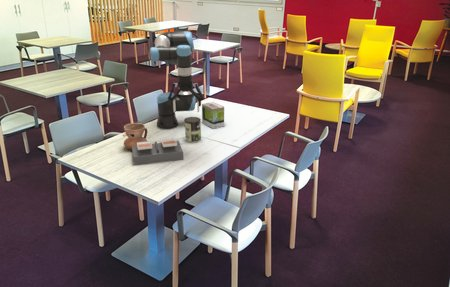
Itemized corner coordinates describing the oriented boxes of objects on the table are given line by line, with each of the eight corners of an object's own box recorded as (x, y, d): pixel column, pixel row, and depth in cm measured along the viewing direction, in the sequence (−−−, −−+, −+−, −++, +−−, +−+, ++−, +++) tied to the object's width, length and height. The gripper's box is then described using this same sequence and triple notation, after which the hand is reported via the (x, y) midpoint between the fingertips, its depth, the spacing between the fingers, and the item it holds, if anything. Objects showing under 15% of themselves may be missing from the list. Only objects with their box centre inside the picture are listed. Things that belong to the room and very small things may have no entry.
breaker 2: (160, 142, 221) (160, 139, 221) (174, 141, 223) (174, 138, 223) (162, 147, 208) (162, 144, 208) (177, 145, 210) (177, 142, 210)
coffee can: (202, 137, 243) (202, 117, 238) (198, 143, 234) (198, 122, 229) (187, 136, 245) (187, 116, 240) (183, 142, 236) (182, 121, 230)
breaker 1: (136, 145, 218) (136, 142, 217) (151, 143, 220) (150, 140, 219) (137, 150, 205) (137, 146, 204) (152, 148, 207) (152, 145, 206)
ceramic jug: (131, 155, 219) (129, 133, 213) (117, 148, 227) (115, 126, 222) (155, 146, 231) (154, 125, 225) (141, 140, 240) (140, 119, 234)
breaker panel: (132, 153, 221) (131, 142, 218) (179, 148, 227) (178, 137, 225) (134, 165, 207) (132, 154, 204) (183, 159, 213) (182, 148, 210)
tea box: (224, 126, 262) (224, 106, 256) (212, 129, 256) (212, 109, 250) (213, 120, 273) (213, 101, 267) (201, 123, 268) (201, 103, 262)
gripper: (160, 75, 198) (163, 113, 206) (206, 76, 197) (207, 113, 205) (163, 72, 205) (166, 109, 213) (208, 73, 204) (208, 109, 212)
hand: (186, 111), depth 209 cm, fingers open, 13 cm apart
